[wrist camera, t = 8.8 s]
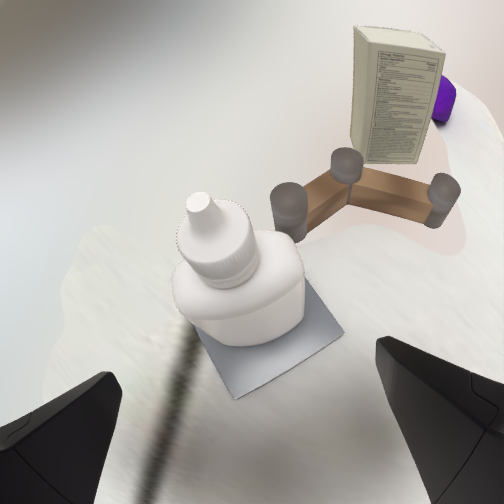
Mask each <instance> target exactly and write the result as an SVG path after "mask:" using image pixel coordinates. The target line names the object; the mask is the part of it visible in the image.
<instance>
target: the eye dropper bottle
mask: <svg viewBox="0 0 504 504" xmlns="http://www.w3.org/2000/svg"><path fill="white" fill-rule="evenodd" d="M185 205H186V209H187V214H186V215H185V216H184V218H183V219H182V221H181V222H180V225H179V226H178V229H177V233H176V234H177V236H176V238H177V239H176V241H177V247H178V249H179V251H180V253H181V255H182V256H183V257H184V259H183V260H182V261H181V262H180V263H179V264H178V265H177V266H176V268H175V269H174V271H173V273H172V277H171V284H172V291H173V297H174V301H175V304H176V307H177V309H178V311H179V312H180V313H181V315H183V316H184V317H185V318H186V319H187V320H189V321H190V322H191V323H193V324H194V325H195V326H197V327H198V328H200V329H201V330H202V331H204V332H205V333H207V334H208V335H210V336H211V337H213V338H214V339H216V340H217V341H219V342H220V343H222V344H224V345H228V346H237V347H244V346H254V345H259V344H263V343H267V342H270V341H272V340H274V339H277V338H279V337H281V336H282V335H284V334H286V333H287V332H289V331H290V330H291V329H293V328H294V327H295V326H296V325H297V324H298V323H299V322H300V321H301V320H302V318H303V316H304V302H305V276H304V266H303V262H302V259H301V257H300V254H299V252H298V250H297V247H296V245H295V243H294V241H293V240H292V239H291V237H290V236H289V235H287V234H285V233H282V232H278V231H271V230H253V228H252V225H251V221H250V218H249V216H248V214H247V213H246V211H245V210H244V208H242V207H241V206H239V205H238V204H236V203H234V202H232V201H229V200H222V199H217V200H212V199H211V197H210V196H209V195H208V194H207V193H205V192H196V193H194V194H192V195H191V196H190V197H189V198H188V199H187V201H186V204H185Z"/></svg>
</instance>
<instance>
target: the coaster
mask: <svg viewBox="0 0 504 504" xmlns="http://www.w3.org/2000/svg"><path fill="white" fill-rule="evenodd" d="M193 325H194V324H193ZM194 327H195V329H196V331H197V333H198V335H199V337H200V339H201V341H202V343H203V345H204V346H205V348H206V350H207V352H208V354H209V356H210V358H211V360H212V362H213V364H214V365H215V367H216V369H217V371H218V373H219V375H220V376H221V378H222V380H223V382H224V384H225V385H226V387H227V389H228V391H229V392H230V394H231V396H232V398H233V399H234V400H236V399H238V398H240V397H242V396H244V395H246V394H248V393H250V392H251V391H253V390H255V389H257V388H259V387H261V386H262V385H264V384H266V383H268V382H269V381H271V380H273V379H275V378H276V377H278V376H280V375H281V374H283V373H285V372H286V371H288V370H290V369H291V368H293V367H295V366H296V365H298V364H299V363H301V362H303V361H304V360H306V359H307V358H309V357H310V356H312V355H314V354H315V353H317V352H318V351H320V350H321V349H323V348H324V347H326V346H327V345H329V344H330V343H332V342H333V341H335V340H336V339H337V338H339V337H340V336H342V335H343V334H344V333H345V332H344V331H343V329H342V328H341V326H340V325H339V324H338V322H337V321H336V319H335V318H334V317H333V315H332V314H331V312H330V311H329V310H328V308H327V307H326V305H325V304H324V303H323V301H322V300H321V298H320V297H319V296H318V294H317V293H316V292H315V290H314V289H313V287H312V286H311V285H310V283H309V282H308V281H307V279H306V278H305V302H304V316H303V318H302V320H301V321H300V322H299V323H298V324H297V325H296V326H295V327H294V328H293V329H291V330H290V331H289V332H287V333H286V334H284V335H282V336H281V337H279V338H277V339H274V340H272V341H270V342H267V343H263V344H259V345H254V346H244V347H237V346H228V345H224V344H222V343H220V342H219V341H217V340H216V339H214V338H213V337H211V336H210V335H208V334H207V333H205V332H204V331H202V330H201V329H200V328H198V327H197V326H195V325H194Z"/></svg>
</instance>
